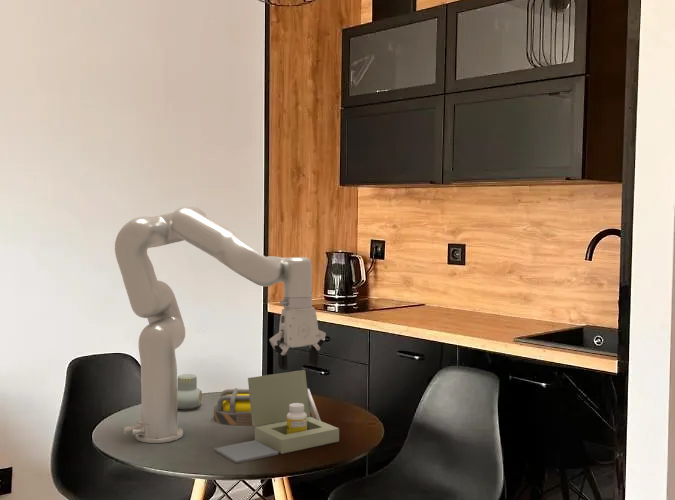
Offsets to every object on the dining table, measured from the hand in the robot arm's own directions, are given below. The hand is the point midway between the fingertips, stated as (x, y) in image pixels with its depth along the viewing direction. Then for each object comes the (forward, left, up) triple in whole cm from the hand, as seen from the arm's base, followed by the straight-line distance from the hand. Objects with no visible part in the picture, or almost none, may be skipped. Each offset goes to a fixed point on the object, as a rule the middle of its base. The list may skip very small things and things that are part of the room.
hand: (298, 366), depth 198 cm
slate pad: (-16, -1, -20) cm, 26 cm away
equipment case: (0, +2, -20) cm, 20 cm away
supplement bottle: (0, 0, -20) cm, 20 cm away
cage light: (+4, +24, -21) cm, 32 cm away
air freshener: (-10, +48, -20) cm, 53 cm away
